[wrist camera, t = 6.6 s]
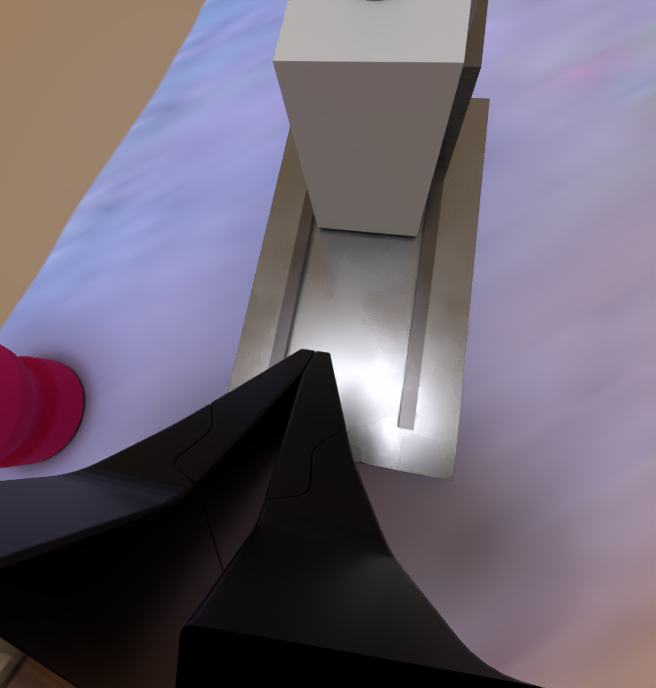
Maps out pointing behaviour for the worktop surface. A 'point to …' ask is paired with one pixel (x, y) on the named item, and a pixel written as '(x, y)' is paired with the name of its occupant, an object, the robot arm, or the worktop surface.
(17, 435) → the pepper mill
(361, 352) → the base
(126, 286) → the worktop surface
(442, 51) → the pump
